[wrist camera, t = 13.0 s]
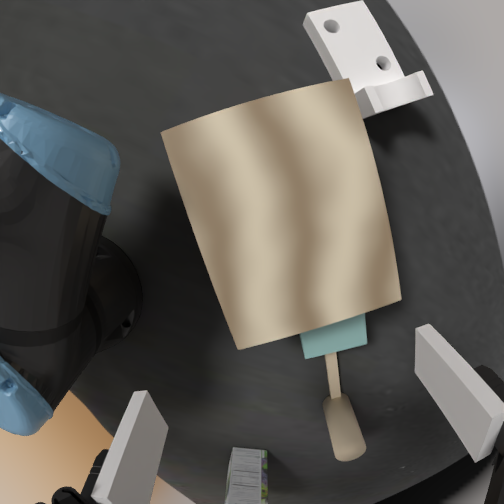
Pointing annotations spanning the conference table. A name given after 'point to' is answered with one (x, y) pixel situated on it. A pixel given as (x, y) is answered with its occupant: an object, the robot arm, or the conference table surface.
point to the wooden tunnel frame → (287, 211)
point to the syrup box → (247, 477)
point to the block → (338, 404)
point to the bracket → (363, 58)
